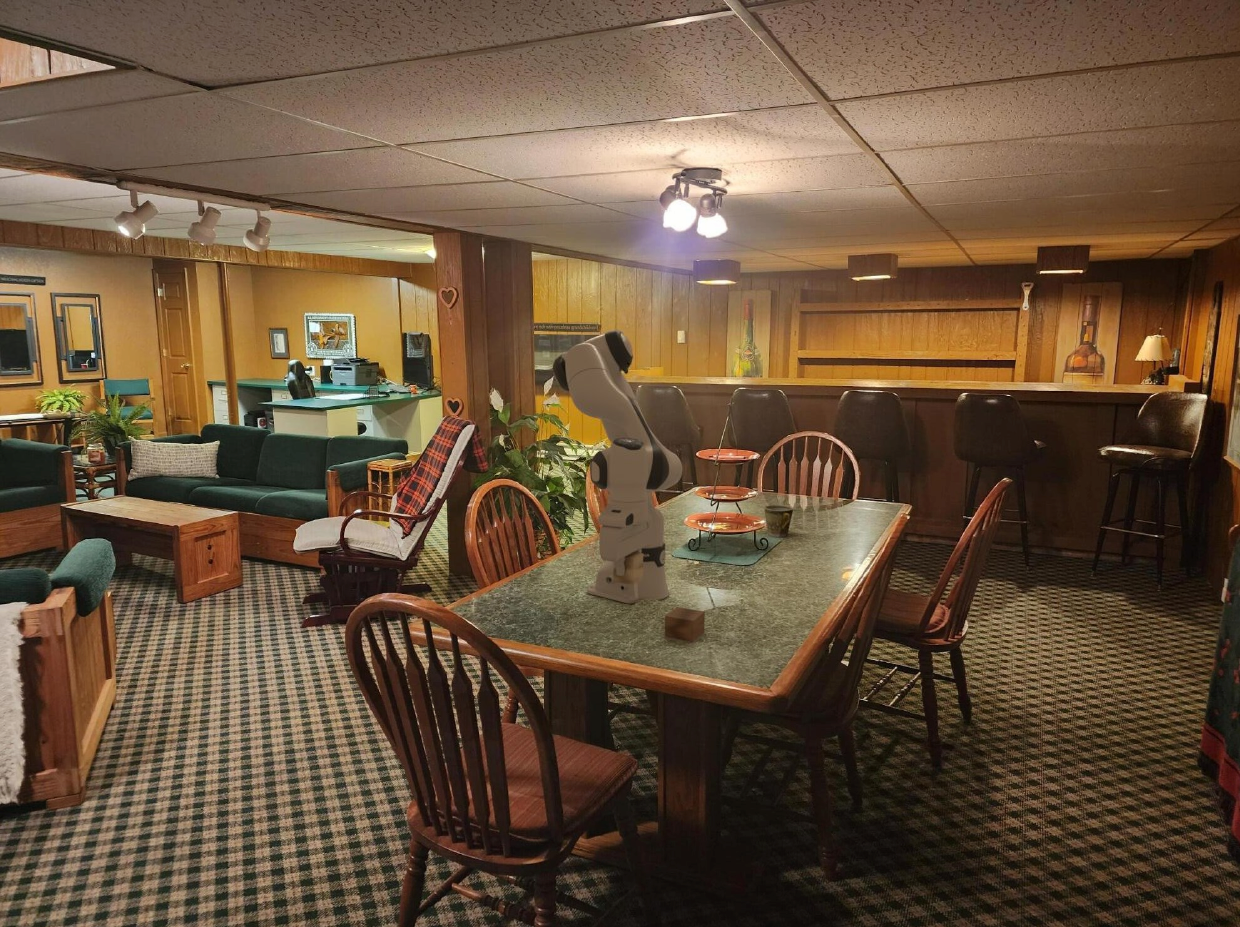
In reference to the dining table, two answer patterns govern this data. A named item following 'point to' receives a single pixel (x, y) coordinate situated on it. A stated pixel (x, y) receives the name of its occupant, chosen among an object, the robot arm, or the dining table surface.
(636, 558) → the maple block
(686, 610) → the walnut block
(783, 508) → the ceramic cup
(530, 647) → the dining table surface
